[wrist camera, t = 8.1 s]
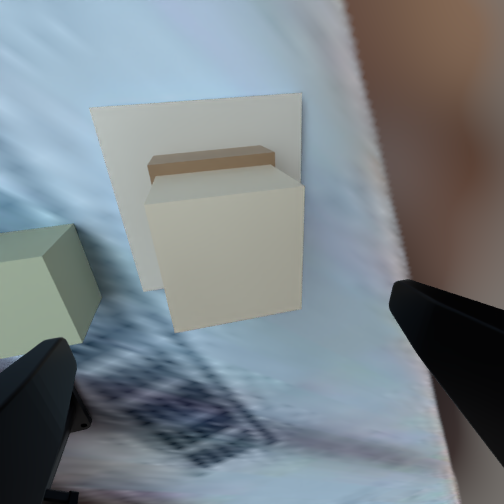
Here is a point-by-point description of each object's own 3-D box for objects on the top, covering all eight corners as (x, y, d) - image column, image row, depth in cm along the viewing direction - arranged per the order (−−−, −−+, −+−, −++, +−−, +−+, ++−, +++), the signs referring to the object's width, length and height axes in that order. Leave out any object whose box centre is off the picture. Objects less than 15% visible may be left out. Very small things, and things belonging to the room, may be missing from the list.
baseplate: (294, 258, 22) (316, 287, 18) (145, 283, 20) (137, 321, 16) (295, 93, 16) (325, 89, 13) (94, 107, 15) (66, 107, 11)
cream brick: (273, 261, 16) (301, 308, 13) (177, 276, 16) (174, 333, 12) (270, 164, 14) (304, 185, 10) (155, 175, 13) (143, 204, 9)
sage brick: (102, 296, 20) (82, 342, 16) (15, 311, 19) (-30, 364, 15) (74, 222, 17) (41, 256, 13) (-29, 236, 16) (-96, 276, 12)
